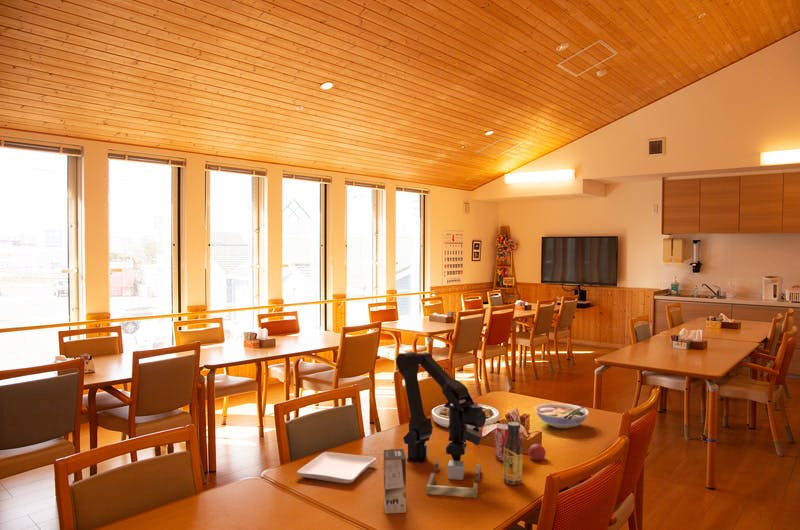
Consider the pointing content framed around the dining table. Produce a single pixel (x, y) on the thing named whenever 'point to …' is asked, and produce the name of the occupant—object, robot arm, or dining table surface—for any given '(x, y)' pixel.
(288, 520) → the dining table surface
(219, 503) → the dining table surface
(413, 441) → the robot arm
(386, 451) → the coffee box
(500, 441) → the soda can
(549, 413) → the ramen bowl
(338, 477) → the salad plate
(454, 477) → the white cube
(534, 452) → the fruit
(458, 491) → the wooden pieces
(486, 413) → the bowl
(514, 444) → the sauce bottle
